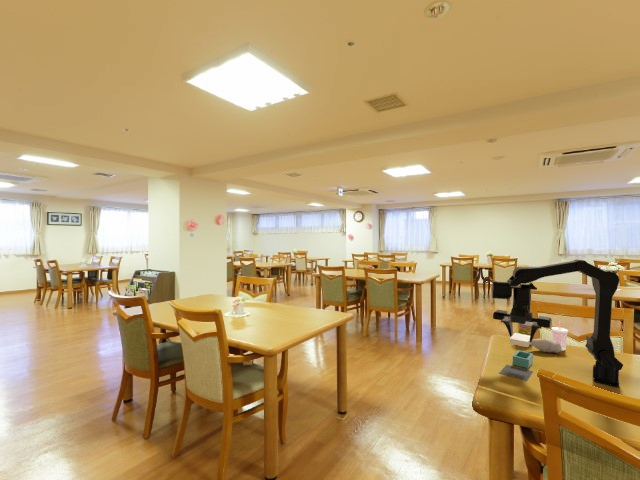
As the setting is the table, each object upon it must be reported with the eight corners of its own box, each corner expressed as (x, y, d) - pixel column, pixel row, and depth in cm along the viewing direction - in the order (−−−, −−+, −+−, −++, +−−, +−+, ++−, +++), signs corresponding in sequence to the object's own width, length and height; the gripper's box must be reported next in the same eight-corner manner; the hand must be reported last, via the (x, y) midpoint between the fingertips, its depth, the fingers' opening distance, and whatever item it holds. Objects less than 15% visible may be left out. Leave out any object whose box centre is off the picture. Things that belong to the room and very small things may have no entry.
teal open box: (532, 363, 131) (533, 353, 131) (528, 370, 125) (528, 359, 125) (517, 359, 135) (517, 350, 135) (512, 365, 129) (512, 356, 129)
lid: (532, 341, 127) (532, 335, 127) (527, 347, 120) (528, 341, 120) (514, 337, 131) (514, 332, 131) (509, 343, 124) (509, 338, 124)
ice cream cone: (520, 349, 147) (558, 357, 143) (526, 344, 142) (565, 353, 138) (519, 336, 150) (556, 344, 147) (525, 331, 145) (563, 339, 142)
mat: (533, 372, 123) (533, 371, 123) (527, 382, 115) (527, 381, 115) (506, 365, 129) (506, 364, 129) (498, 374, 121) (498, 373, 121)
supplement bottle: (516, 341, 157) (516, 315, 157) (519, 338, 162) (520, 312, 161) (532, 345, 152) (533, 317, 152) (535, 341, 157) (536, 315, 157)
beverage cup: (553, 350, 146) (554, 319, 146) (548, 345, 152) (549, 315, 152) (569, 351, 144) (571, 320, 144) (564, 346, 150) (565, 316, 150)
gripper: (489, 300, 125) (488, 340, 126) (548, 307, 113) (547, 352, 114) (496, 295, 134) (496, 333, 134) (552, 302, 121) (551, 343, 122)
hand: (521, 340), depth 126 cm, fingers closed on lid, 6 cm apart
